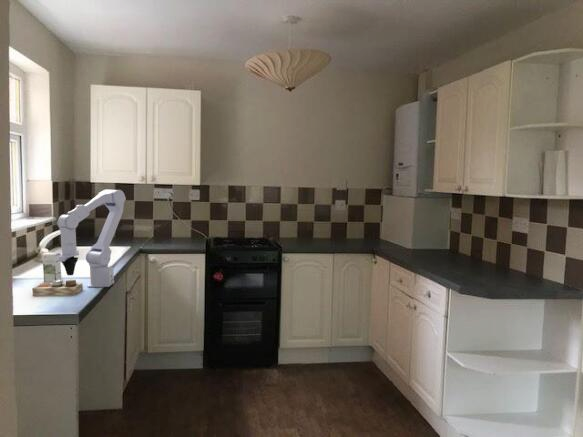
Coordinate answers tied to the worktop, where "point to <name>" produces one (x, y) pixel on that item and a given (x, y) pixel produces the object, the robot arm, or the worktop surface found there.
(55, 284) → the steel button
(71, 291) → the light wooden flat frame
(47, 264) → the syrup box
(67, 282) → the walnut button
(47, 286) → the terracotta button
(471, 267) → the worktop surface
